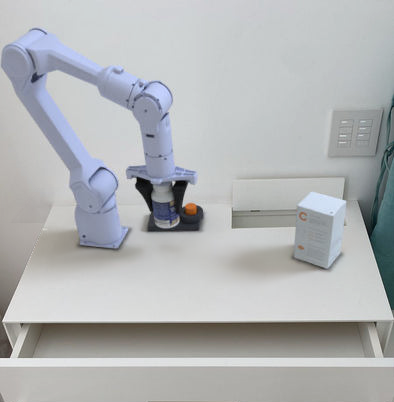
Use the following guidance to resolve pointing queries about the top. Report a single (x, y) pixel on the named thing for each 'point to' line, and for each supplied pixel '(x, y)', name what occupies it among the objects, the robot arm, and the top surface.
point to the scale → (180, 221)
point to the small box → (319, 229)
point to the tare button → (190, 209)
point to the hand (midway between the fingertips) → (165, 210)
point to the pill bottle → (164, 205)
